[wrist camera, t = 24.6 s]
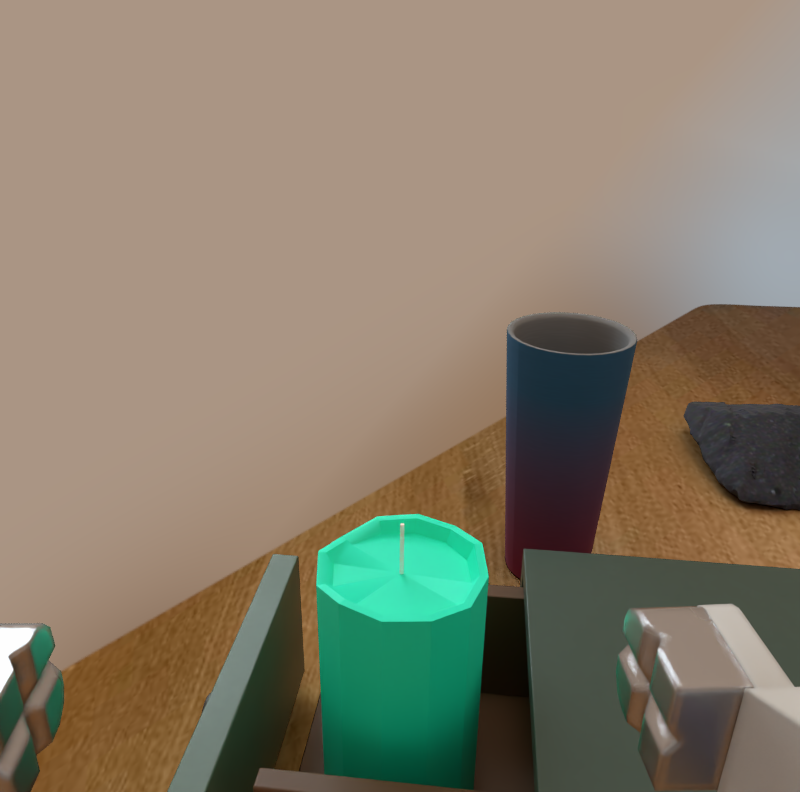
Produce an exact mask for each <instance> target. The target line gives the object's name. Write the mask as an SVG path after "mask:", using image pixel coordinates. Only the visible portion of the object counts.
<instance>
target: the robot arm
mask: <svg viewBox="0 0 800 792" xmlns="http://www.w3.org/2000/svg"><path fill="white" fill-rule="evenodd" d="M623 632H624V634H625V637H626V639H627V641H628V643H629V644H628V645H627V646H626V647H625V648H624V649H623V650H622V651H621V652H620V653H619V654H618V661H617V668H616V682H617V693H618V697H619V702H620V706H621V709H622V711H623V714H624V717H625V719H626V722H627V723H628V724H630V725H631V726H632V727H633V728H635V729H636V730H637V731H638V732H640V739H639V744H638V751H639V754H640V756H641V758H642V761H643V763H644V766H645V768H646V770H647V773H648V775H649V778H650V780H651V782H652V785H653V787H654V790H655V791H679V790H717V792H800V687H794V685H793V684H792V682H791V681H790V679H789V678H788V677H787V675H786V674H785V672H784V671H783V670H782V668H781V667H780V665H779V664H778V662H777V661H776V660H775V658H774V657H773V655H772V654H771V652H770V651H769V650H768V648H767V647H766V645H765V644H764V643H763V641H762V640H761V638H760V637H759V635H758V634H757V633H756V631H755V630H754V628H753V627H752V626H751V624H750V623H749V621H748V620H747V618H746V617H745V616H744V614H743V613H742V611H741V610H740V609H739V608H738V607H737V606H735V605H733V604H714V605H698V606H683V607H652V608H629V610H628V612H627V614H626V616H625V620H624V625H623ZM54 647H55V644H54V639H53V636H52V632H51V629H50V627H49V626H47V625H45V624H43V623H41V624H39V623H37V624H0V792H31V790H32V787H33V785H34V783H35V781H36V778H37V776H38V774H39V772H40V770H39V766H38V762H37V757H36V755H37V754H38V753H40V752H41V751H42V750H43V749H45V748H46V747H47V746H48V745H49V744H51V743H52V742H53V739H54V737H55V734H56V732H57V730H58V727H59V725H60V720H61V715H62V710H63V705H64V684H63V679H62V674H61V671H60V670H59V669H58V668H57V667H56V666H54V665H53V664H52V663H51V662H50V661H49V658H50V656H51V653H52V652H53V650H54Z"/></svg>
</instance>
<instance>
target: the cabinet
mask: <svg viewBox="0 0 800 792" xmlns="http://www.w3.org/2000/svg"><path fill="white" fill-rule="evenodd" d="M520 587H523V588H524V607H525V625H526V643H527V662H528V680H529V699H530V717H531V735H532V754H533V772H534V791H535V792H717V790H679V791H655V790H654V787H653V785H652V782H651V780H650V778H649V775H648V773H647V770H646V768H645V766H644V763H643V761H642V758H641V756H640V754H639V751H638V744H639V739H640V732H638V731H637V730H636V729H635V728H633V727H632V726H631V725H630V724H628V723H627V722H626V719H625V717H624V714H623V711H622V709H621V706H620V702H619V697H618V693H617V682H616V668H617V661H618V654H619V653H620V652H621V651H622V650H623V649H624V648H625V647H626V646H627V645H628V644H629V643H628V641H627V639H626V637H625V634H624V632H623V625H624V620H625V616H626V614H627V612H628V610H629V608H652V607H683V606H698V605H714V604H733V605H735V606H737V607H738V608H739V609H740V610H741V611H742V613H743V614H744V616H745V617H746V618H747V620H748V621H749V623H750V624H751V626H752V627H753V628H754V630H755V631H756V633H757V634H758V635H759V637H760V638H761V640H762V641H763V643H764V644H765V645H766V647H767V648H768V650H769V651H770V652H771V654H772V655H773V657H774V658H775V660H776V661H777V662H778V664H779V665H780V667H781V668H782V670H783V671H784V672H785V674H786V675H787V677H788V678H789V679H790V681H791V682H792V684H793V685H794V687H800V569H792V568H778V567H765V566H752V565H738V564H725V563H711V562H698V561H685V560H671V559H658V558H644V557H631V556H618V555H604V554H591V553H577V552H564V551H551V550H537V549H523V558H522V569H521V580H520Z"/></svg>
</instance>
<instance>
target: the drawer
mask: <svg viewBox="0 0 800 792" xmlns="http://www.w3.org/2000/svg"><path fill="white" fill-rule="evenodd" d="M303 673H304V653H303V634H302V616H301V597H300V579H299V560H298V556H290V555H278V554H273V555H272V558H271V560H270V562H269V564H268V567H267V569H266V571H265V573H264V576H263V578H262V580H261V582H260V585H259V587H258V589H257V591H256V594H255V596H254V598H253V600H252V603H251V605H250V607H249V609H248V612H247V614H246V616H245V618H244V621H243V623H242V625H241V627H240V630H239V632H238V634H237V636H236V639H235V641H234V643H233V645H232V648H231V650H230V652H229V654H228V656H227V659H226V661H225V663H224V665H223V668H222V670H221V672H220V674H219V677H218V679H217V681H216V683H215V686H214V688H213V690H212V692H211V693H210V694H209V695H208V696H207V698H206V701H205V703H204V706H203V710H202V715H201V717H200V719H199V722H198V724H197V726H196V728H195V731H194V733H193V735H192V737H191V740H190V742H189V744H188V746H187V748H186V751H185V753H184V755H183V757H182V760H181V762H180V764H179V766H178V769H177V771H176V773H175V775H174V778H173V780H172V782H171V784H170V787H169V789H168V791H167V792H535V791H534V772H533V754H532V735H531V717H530V699H529V680H528V662H527V643H526V625H525V607H524V588H523V587H512V586H500V585H488V594H487V608H486V622H485V636H484V650H483V664H482V678H481V692H480V706H479V720H478V734H477V748H476V761H475V775H474V789H473V790H468V789H458V788H449V787H439V786H430V785H421V784H411V783H402V782H393V781H383V780H374V779H364V778H355V777H346V776H336V775H327V774H324V755H323V731H322V707H321V693H320V696H319V700H318V704H317V707H316V711H315V715H314V718H313V722H312V726H311V729H310V733H309V737H308V740H307V744H306V748H305V751H304V755H303V758H302V762H301V766H300V769H299V771H289V770H280V769H274V767H275V764H276V761H277V757H278V754H279V751H280V748H281V744H282V741H283V738H284V735H285V732H286V728H287V725H288V722H289V719H290V715H291V712H292V709H293V706H294V702H295V699H296V696H297V693H298V690H299V686H300V683H301V680H302V677H303Z"/></svg>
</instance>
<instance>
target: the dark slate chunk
mask: <svg viewBox="0 0 800 792" xmlns="http://www.w3.org/2000/svg"><path fill="white" fill-rule="evenodd" d="M684 418H685V420H686V421H687V423H688V425H689V428H690V434H691V435H692V436H693V438H694V439H695V441H696V442H697V444H698V445H699V446H700V449H701V452H702V456H703V459H704V461H705V462H706V463H707V465H708V466H709V467H710V469H711V470H712V472H713V473H714V474H715V475H716V478H717V480H718V482H719V483H720V484H721V485H723V486H725V488H726V489H727V490H728V491H729V492H731V493H732V494H734V495H735V496H737V497H738V498H739V500H741V501H743V502H748V503H757V504H763V505H770V506H774V507H780V508H783V509H786V510H787V509H797V510H800V406H796V405H795V406H793V405H783V404H771V405H760V404H741V405H739V404H738V405H727V404H725V403H724V402H719V403H716V402H691V403H689V404H688V406H687V408H686V411H685V414H684Z"/></svg>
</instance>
